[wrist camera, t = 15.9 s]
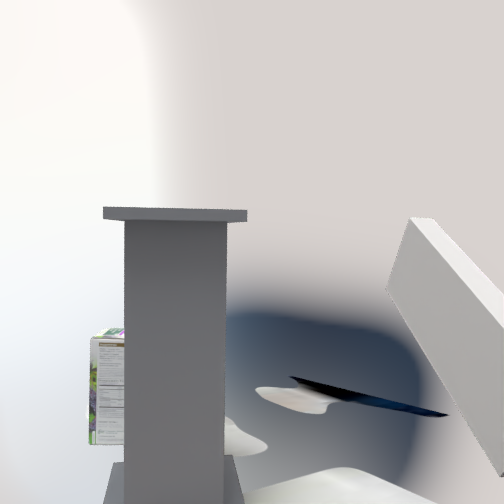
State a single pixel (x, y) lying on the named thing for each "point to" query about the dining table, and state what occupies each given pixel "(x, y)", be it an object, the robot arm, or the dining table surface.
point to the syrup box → (107, 388)
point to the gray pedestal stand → (174, 358)
